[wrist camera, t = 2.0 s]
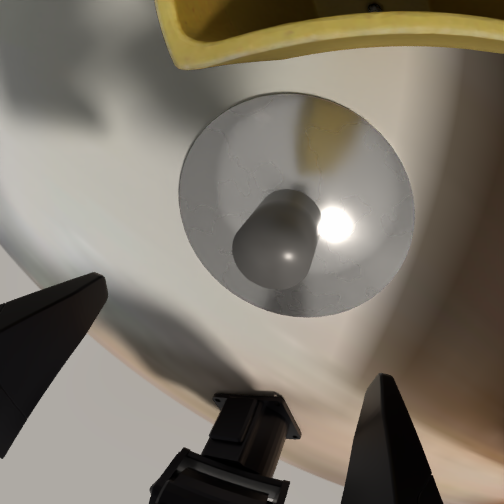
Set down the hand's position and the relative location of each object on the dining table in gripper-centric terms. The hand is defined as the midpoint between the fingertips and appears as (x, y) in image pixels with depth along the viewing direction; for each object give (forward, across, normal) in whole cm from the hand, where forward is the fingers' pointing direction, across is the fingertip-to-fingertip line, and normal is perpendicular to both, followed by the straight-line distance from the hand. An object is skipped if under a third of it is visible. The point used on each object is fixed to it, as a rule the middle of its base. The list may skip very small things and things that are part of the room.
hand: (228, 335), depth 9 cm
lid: (+8, 0, 0) cm, 8 cm away
